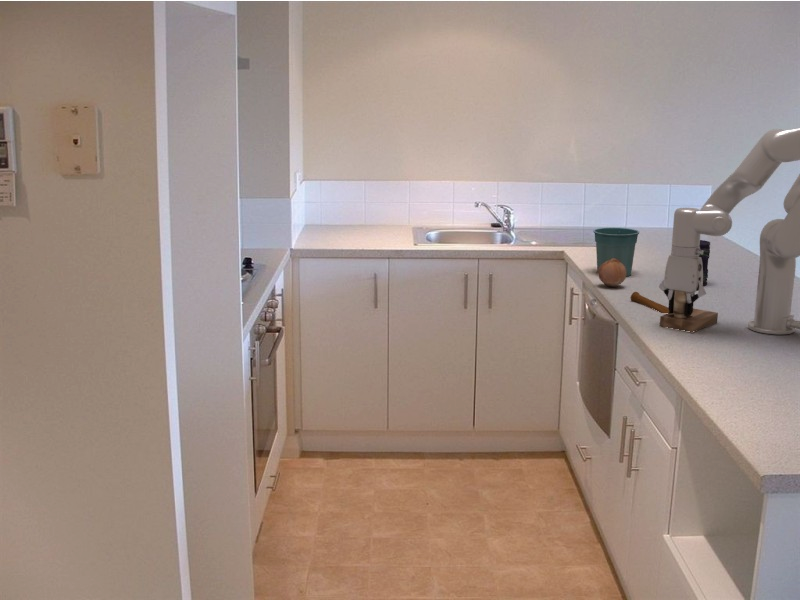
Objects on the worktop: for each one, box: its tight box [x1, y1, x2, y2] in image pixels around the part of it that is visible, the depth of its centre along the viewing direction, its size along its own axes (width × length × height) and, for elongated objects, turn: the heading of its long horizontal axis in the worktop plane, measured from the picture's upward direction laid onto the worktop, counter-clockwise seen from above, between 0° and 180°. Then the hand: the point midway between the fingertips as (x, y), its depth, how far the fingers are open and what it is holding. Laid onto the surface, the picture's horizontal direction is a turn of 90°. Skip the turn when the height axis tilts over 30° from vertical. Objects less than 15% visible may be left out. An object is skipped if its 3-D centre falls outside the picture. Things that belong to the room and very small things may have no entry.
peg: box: [673, 290, 687, 320], centre depth 271 cm, size 4×4×10 cm
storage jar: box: [699, 239, 711, 287], centre depth 329 cm, size 10×10×15 cm
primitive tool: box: [630, 291, 669, 314], centre depth 296 cm, size 19×6×4 cm, turn 26°
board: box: [659, 307, 719, 333], centre depth 275 cm, size 10×16×3 cm, turn 137°
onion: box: [597, 258, 627, 288], centre depth 324 cm, size 10×9×10 cm
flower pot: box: [593, 227, 641, 277], centre depth 344 cm, size 16×16×16 cm
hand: (680, 313), depth 272 cm, fingers closed on peg, 4 cm apart
